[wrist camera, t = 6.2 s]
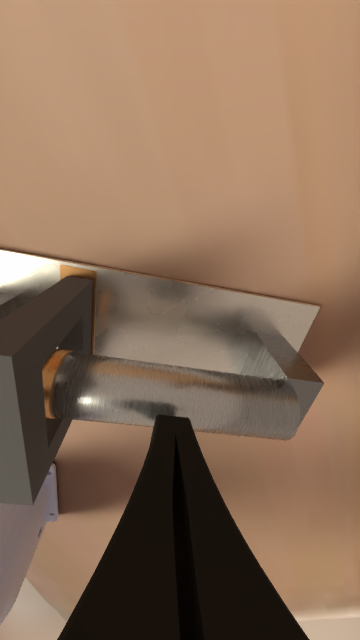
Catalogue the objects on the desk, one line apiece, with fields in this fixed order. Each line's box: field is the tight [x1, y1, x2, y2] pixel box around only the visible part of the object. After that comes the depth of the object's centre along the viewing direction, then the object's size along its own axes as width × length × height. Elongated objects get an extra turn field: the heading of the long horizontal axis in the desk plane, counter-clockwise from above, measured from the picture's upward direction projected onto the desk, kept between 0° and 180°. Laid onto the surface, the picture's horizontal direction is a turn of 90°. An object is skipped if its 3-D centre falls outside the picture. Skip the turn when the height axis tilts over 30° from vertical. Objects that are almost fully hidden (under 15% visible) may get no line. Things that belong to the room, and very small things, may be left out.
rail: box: [0, 248, 324, 440], centre depth 12 cm, size 22×9×8 cm, turn 79°
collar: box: [0, 276, 93, 505], centre depth 11 cm, size 1×8×8 cm, turn 169°
